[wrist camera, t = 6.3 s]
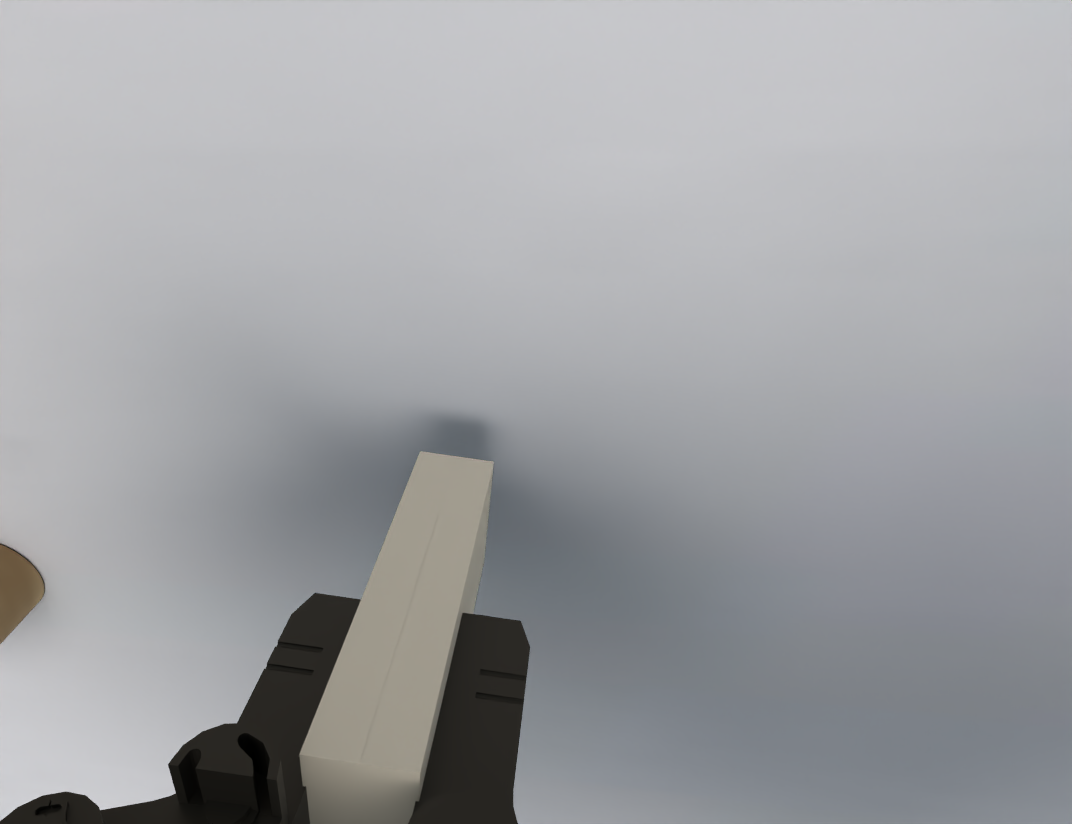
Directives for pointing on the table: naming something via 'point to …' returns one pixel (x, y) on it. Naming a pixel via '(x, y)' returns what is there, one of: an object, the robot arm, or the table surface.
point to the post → (16, 590)
